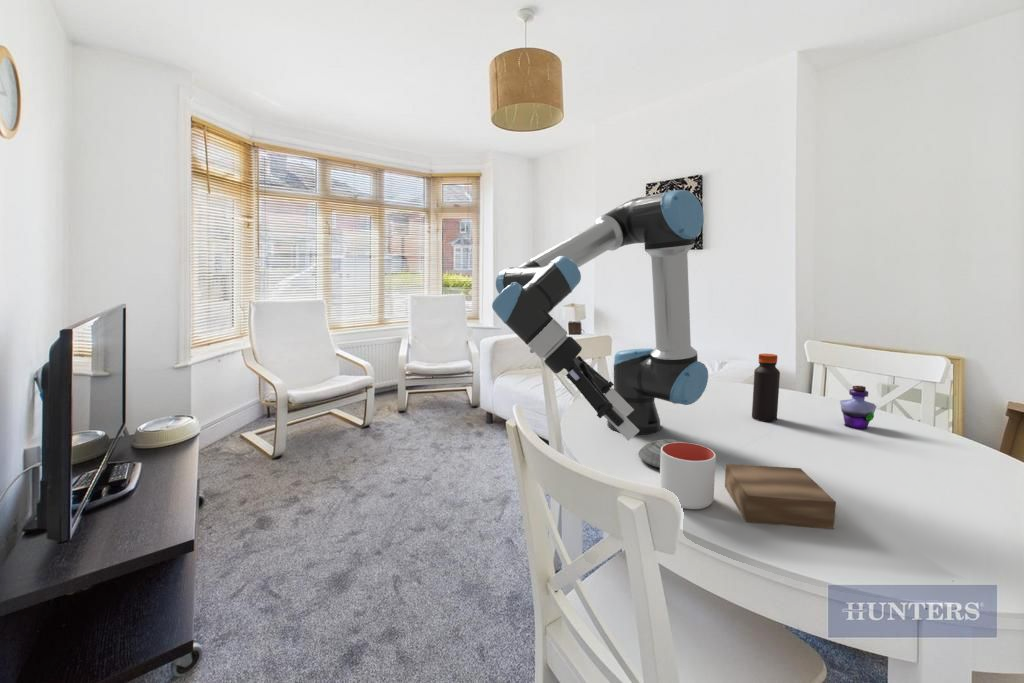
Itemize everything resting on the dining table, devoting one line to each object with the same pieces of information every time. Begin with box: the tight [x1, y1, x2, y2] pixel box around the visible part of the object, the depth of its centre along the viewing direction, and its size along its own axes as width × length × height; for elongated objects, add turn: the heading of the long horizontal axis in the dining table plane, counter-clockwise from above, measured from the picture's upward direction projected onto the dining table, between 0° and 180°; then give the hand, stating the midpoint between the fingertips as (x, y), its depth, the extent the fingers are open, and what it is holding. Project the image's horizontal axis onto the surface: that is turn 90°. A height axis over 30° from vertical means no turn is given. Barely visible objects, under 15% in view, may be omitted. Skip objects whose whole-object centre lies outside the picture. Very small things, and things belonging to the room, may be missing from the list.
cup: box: [659, 441, 717, 510], centre depth 88 cm, size 10×10×10 cm
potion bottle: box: [839, 385, 877, 431], centre depth 128 cm, size 9×9×12 cm
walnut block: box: [724, 463, 837, 530], centre depth 85 cm, size 14×14×5 cm
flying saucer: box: [638, 438, 686, 469], centre depth 106 cm, size 15×15×6 cm
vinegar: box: [751, 353, 781, 423], centre depth 136 cm, size 7×7×20 cm
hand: (631, 424), depth 88 cm, fingers open, 13 cm apart
